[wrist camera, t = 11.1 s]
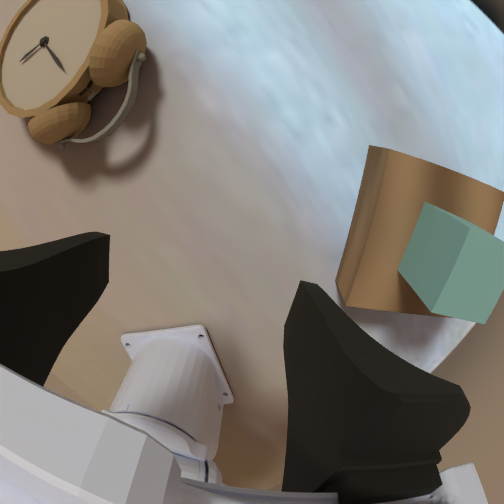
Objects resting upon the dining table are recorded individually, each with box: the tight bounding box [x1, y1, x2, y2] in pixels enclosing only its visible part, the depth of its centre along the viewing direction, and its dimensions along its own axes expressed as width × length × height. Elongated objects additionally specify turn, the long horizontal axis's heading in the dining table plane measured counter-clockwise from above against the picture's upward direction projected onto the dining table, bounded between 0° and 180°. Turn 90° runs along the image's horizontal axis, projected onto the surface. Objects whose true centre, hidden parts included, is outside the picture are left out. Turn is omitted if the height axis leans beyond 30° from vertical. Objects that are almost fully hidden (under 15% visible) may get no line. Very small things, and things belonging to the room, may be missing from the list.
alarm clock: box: [0, 0, 146, 150], centre depth 15 cm, size 11×5×15 cm
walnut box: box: [335, 145, 504, 318], centre depth 19 cm, size 10×10×4 cm
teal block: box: [397, 202, 504, 324], centre depth 15 cm, size 5×5×5 cm
